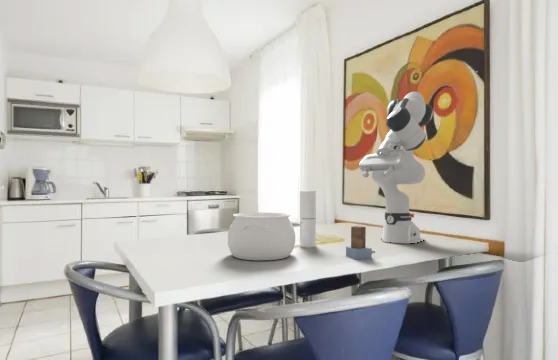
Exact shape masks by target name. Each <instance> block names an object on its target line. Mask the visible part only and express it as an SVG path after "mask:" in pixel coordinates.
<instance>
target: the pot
mask: <svg viewBox="0 0 558 360" xmlns="http://www.w3.org/2000/svg"><path fill="white" fill-rule="evenodd" d="M232 216H233V217H234V219H233V220H232V222H231V224H230V226H229V228H228V233H227V246H228V249H229V251H230V253H231V255H232V256H233V257H234V258H236V259H239V260H243V261H251V260H252V261H254V262H256V261H257V262H267V261H278V260H282V259H285V258H288V257H290V255H291V254H292V253H293V251H294V248H295V246H296V245H295V244H296V232H295V231H296V230H295V227H294V225H293V224H292V222H291V220H290V218H289V217H291V214H290V213H284V212H240V213H239V212H238V213H233V214H232ZM252 261H251V262H252Z"/></svg>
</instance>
